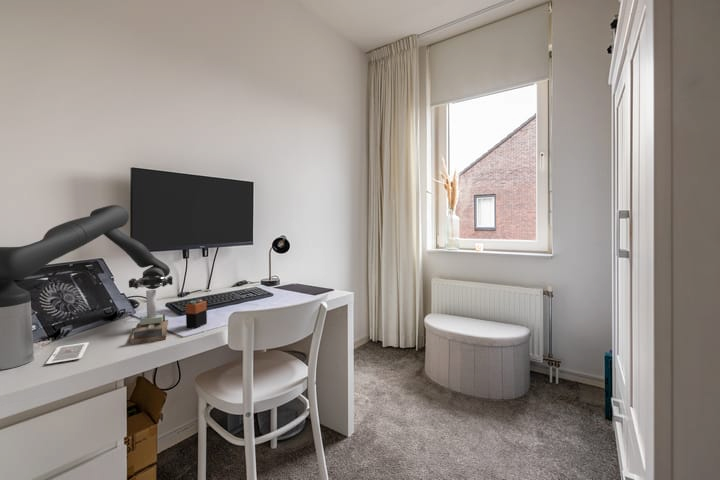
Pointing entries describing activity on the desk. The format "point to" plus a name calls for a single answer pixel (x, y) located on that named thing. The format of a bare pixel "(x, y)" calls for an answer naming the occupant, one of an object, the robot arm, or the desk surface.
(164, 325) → the rail base
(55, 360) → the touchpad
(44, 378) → the desk surface
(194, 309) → the battery
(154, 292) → the keeper
